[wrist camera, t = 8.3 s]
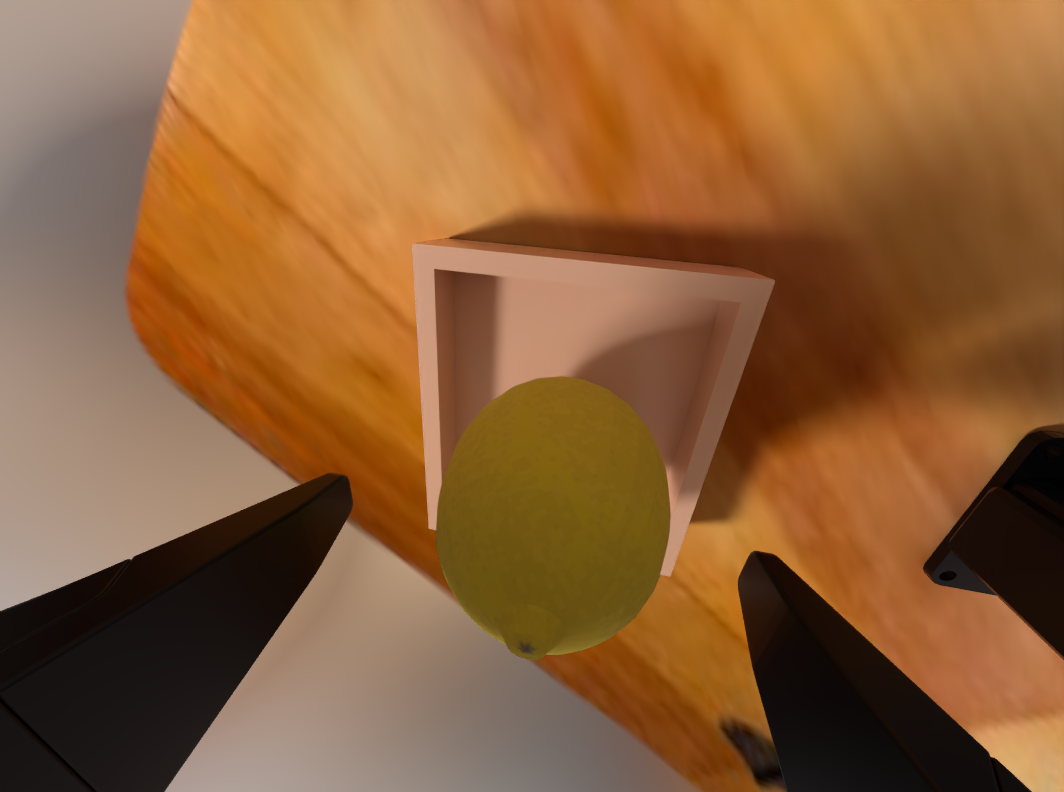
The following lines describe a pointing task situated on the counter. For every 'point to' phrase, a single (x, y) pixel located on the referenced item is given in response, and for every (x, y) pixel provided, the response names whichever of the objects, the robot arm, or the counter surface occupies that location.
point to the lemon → (554, 516)
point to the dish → (584, 345)
